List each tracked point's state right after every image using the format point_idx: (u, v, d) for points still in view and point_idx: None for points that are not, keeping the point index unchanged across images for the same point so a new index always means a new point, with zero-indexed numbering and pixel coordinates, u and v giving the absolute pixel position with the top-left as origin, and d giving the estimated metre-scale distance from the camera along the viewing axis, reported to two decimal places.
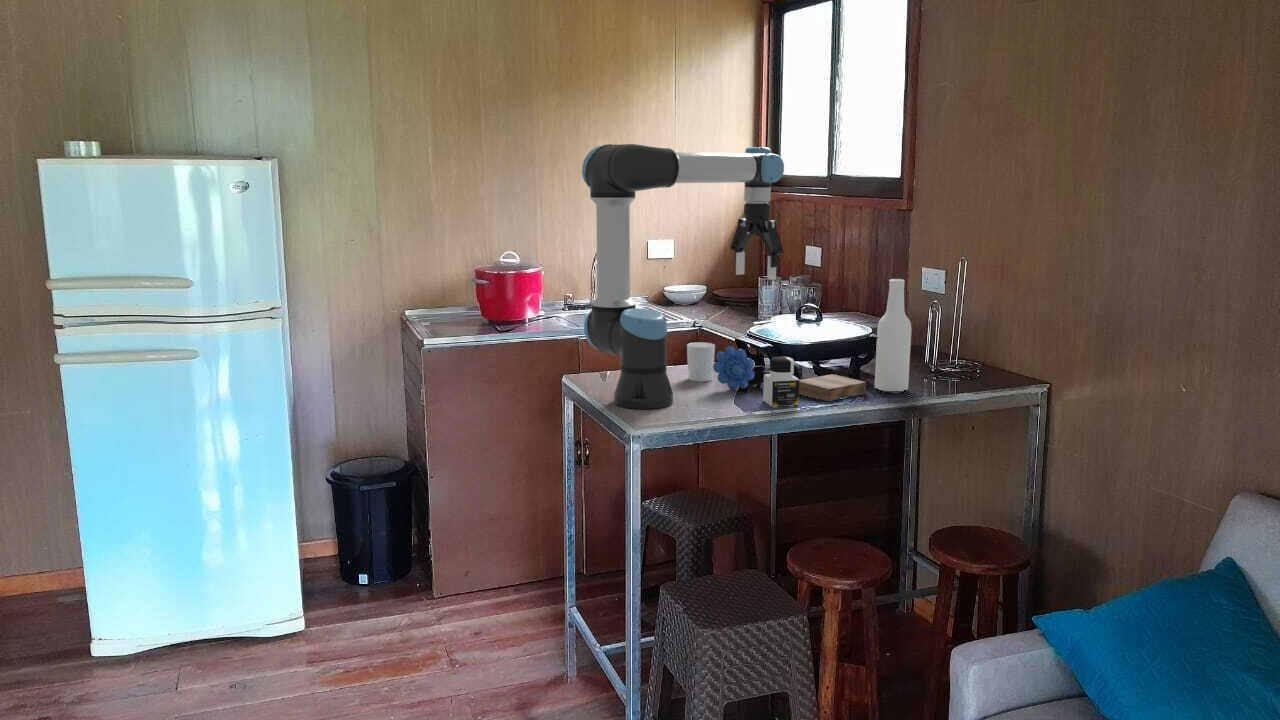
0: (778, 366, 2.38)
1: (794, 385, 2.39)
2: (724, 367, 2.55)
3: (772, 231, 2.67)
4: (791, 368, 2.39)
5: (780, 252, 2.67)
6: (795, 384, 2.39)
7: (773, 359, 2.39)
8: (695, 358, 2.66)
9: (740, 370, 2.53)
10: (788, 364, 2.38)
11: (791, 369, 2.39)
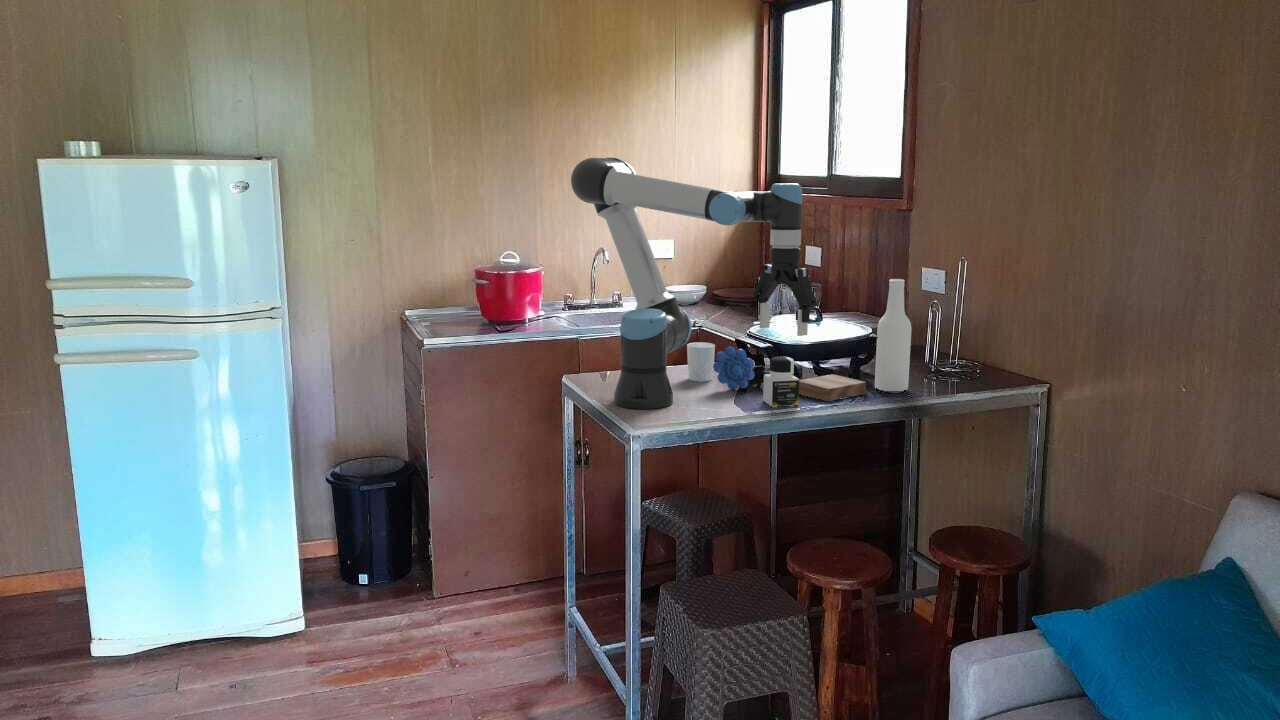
0: (778, 366, 2.38)
1: (794, 385, 2.39)
2: (724, 367, 2.55)
3: (803, 281, 2.30)
4: (791, 368, 2.39)
5: (813, 306, 2.30)
6: (795, 384, 2.39)
7: (773, 359, 2.39)
8: (695, 358, 2.66)
9: (740, 370, 2.53)
10: (788, 364, 2.38)
11: (791, 369, 2.39)
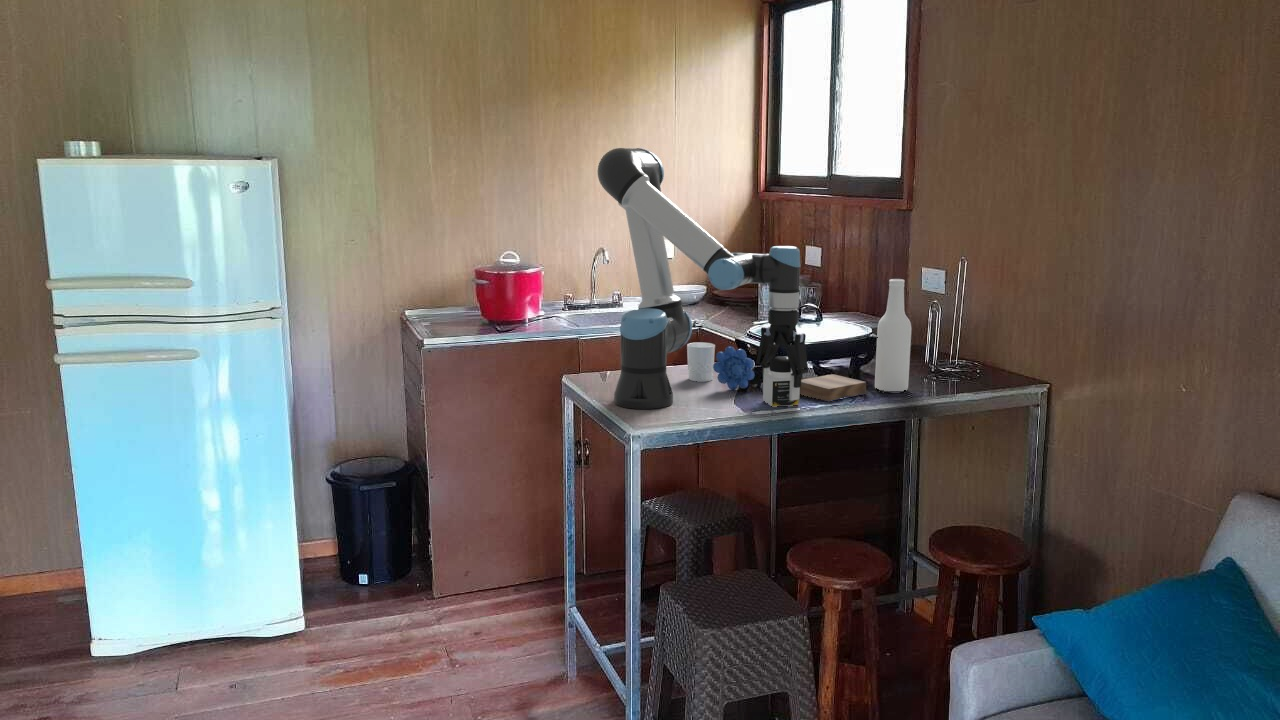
0: (778, 366, 2.38)
1: None
2: (724, 367, 2.55)
3: (799, 347, 2.34)
4: None
5: (805, 372, 2.34)
6: None
7: (773, 359, 2.39)
8: (695, 358, 2.66)
9: (740, 370, 2.53)
10: (788, 364, 2.38)
11: (791, 369, 2.39)
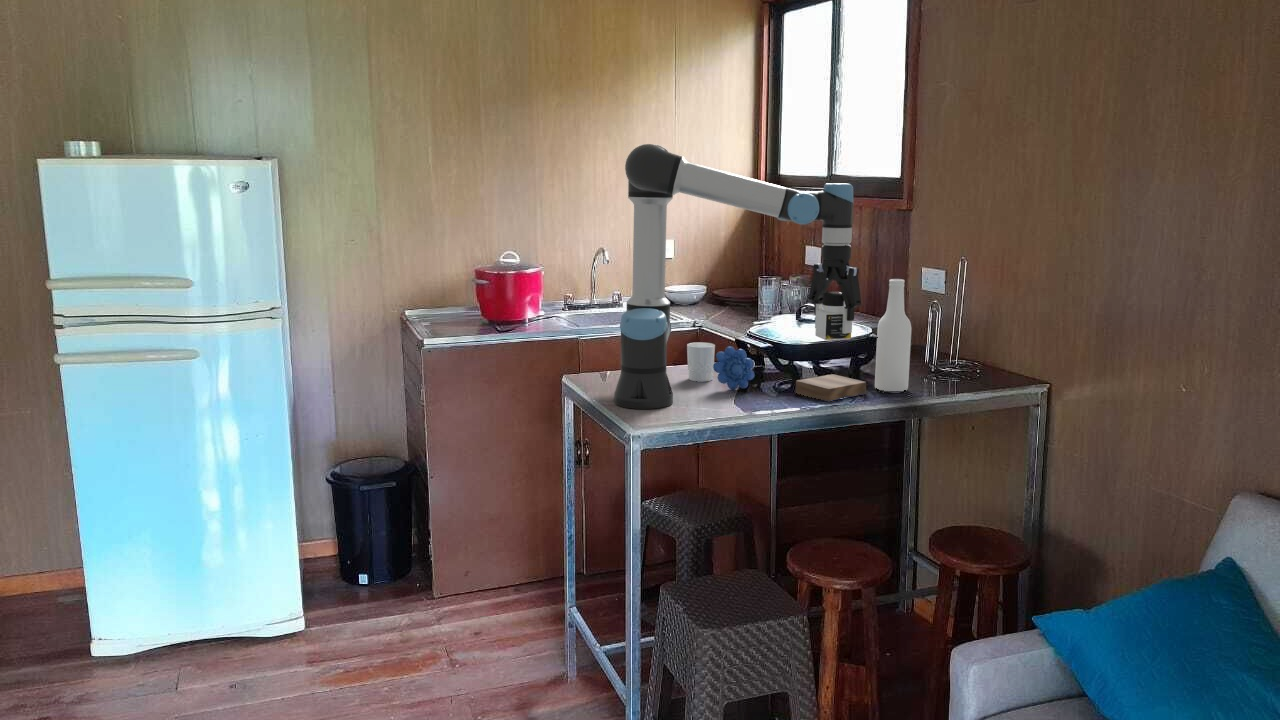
0: (832, 300, 2.45)
1: None
2: (724, 367, 2.55)
3: (853, 280, 2.41)
4: (844, 302, 2.46)
5: (858, 305, 2.42)
6: None
7: (826, 294, 2.46)
8: (695, 358, 2.66)
9: (740, 370, 2.53)
10: (841, 298, 2.45)
11: (844, 303, 2.46)
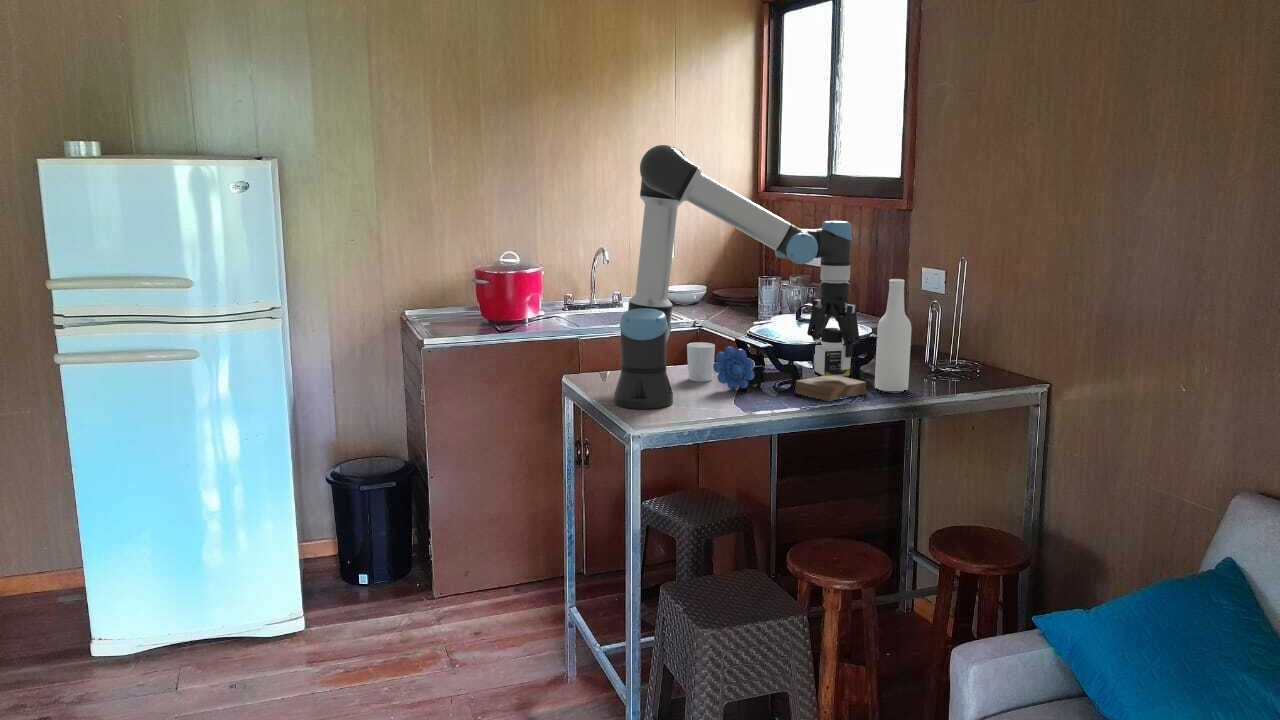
0: (830, 337, 2.47)
1: None
2: (724, 367, 2.55)
3: (851, 318, 2.43)
4: (842, 338, 2.48)
5: (856, 342, 2.43)
6: None
7: (825, 330, 2.48)
8: (695, 358, 2.66)
9: (740, 370, 2.53)
10: (839, 335, 2.47)
11: (842, 339, 2.48)
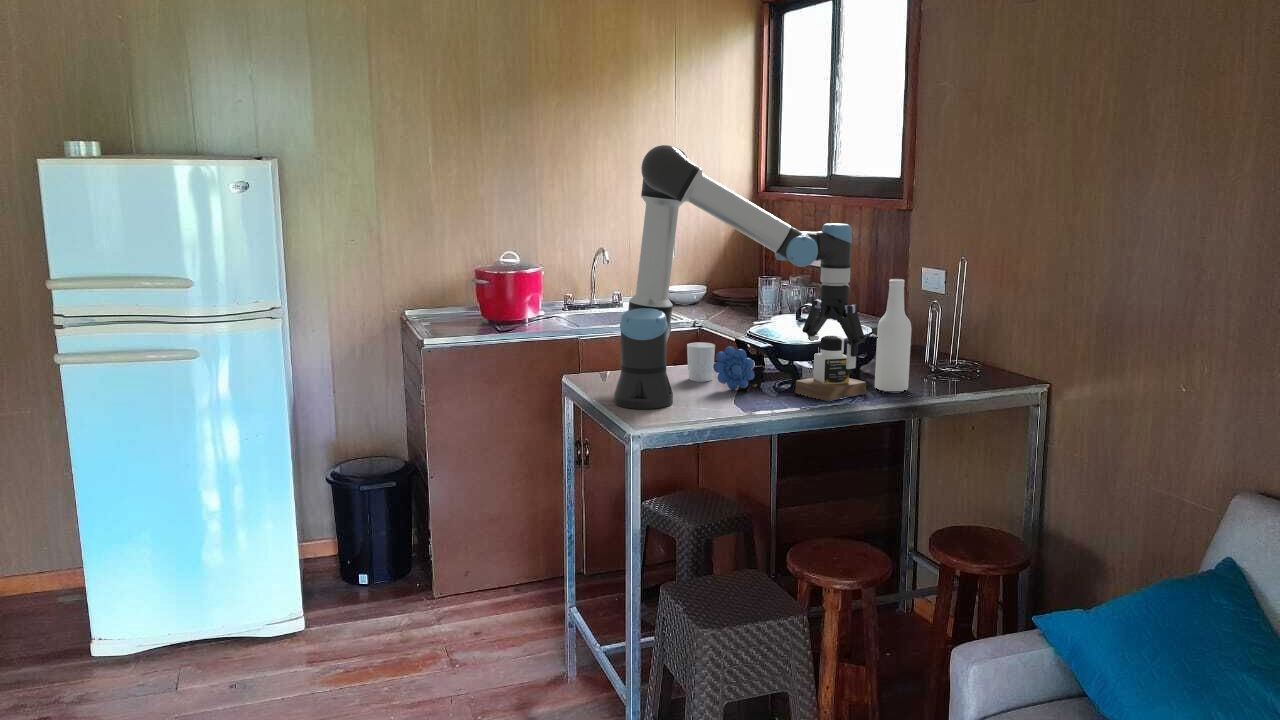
0: (830, 345, 2.47)
1: (844, 363, 2.48)
2: (724, 367, 2.55)
3: (853, 317, 2.42)
4: (842, 346, 2.48)
5: (862, 341, 2.42)
6: None
7: (824, 338, 2.49)
8: (695, 358, 2.66)
9: (740, 370, 2.53)
10: (839, 343, 2.47)
11: (842, 347, 2.48)
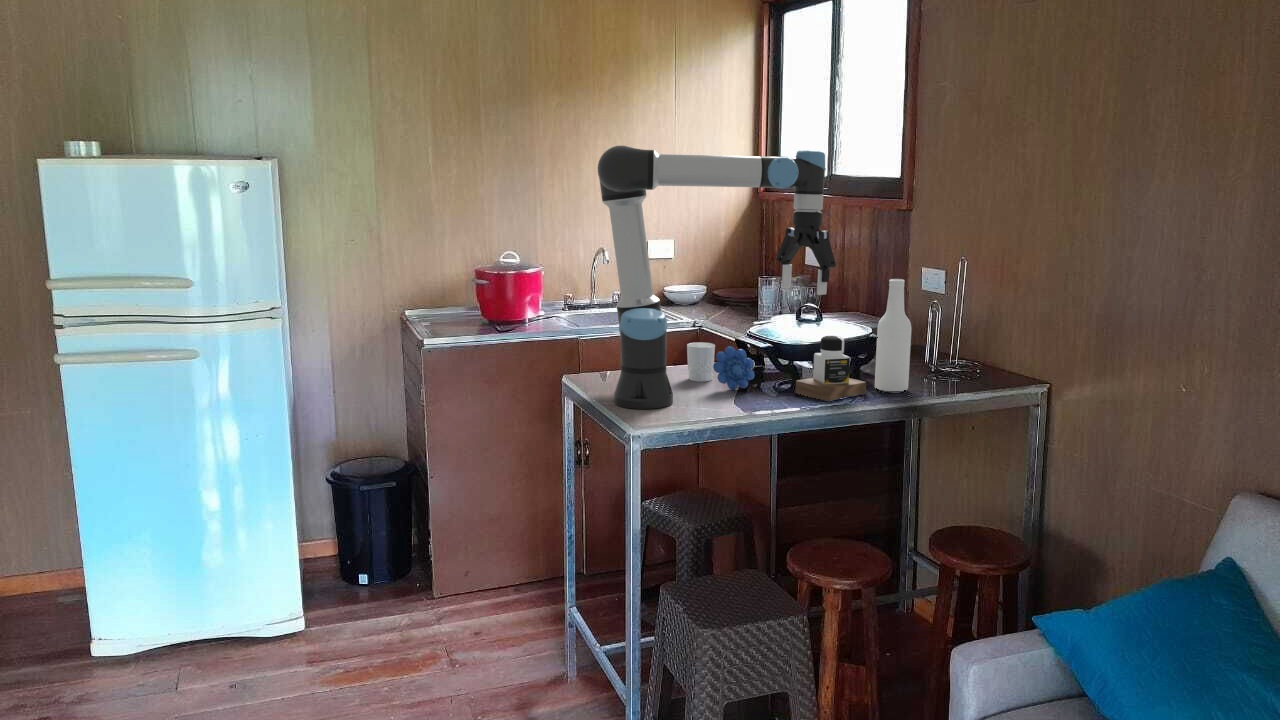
0: (830, 345, 2.47)
1: (845, 363, 2.48)
2: (724, 367, 2.55)
3: (824, 242, 2.44)
4: (842, 347, 2.48)
5: (833, 266, 2.43)
6: (846, 362, 2.48)
7: (824, 338, 2.49)
8: (695, 358, 2.66)
9: (740, 370, 2.53)
10: (839, 343, 2.47)
11: (842, 347, 2.48)
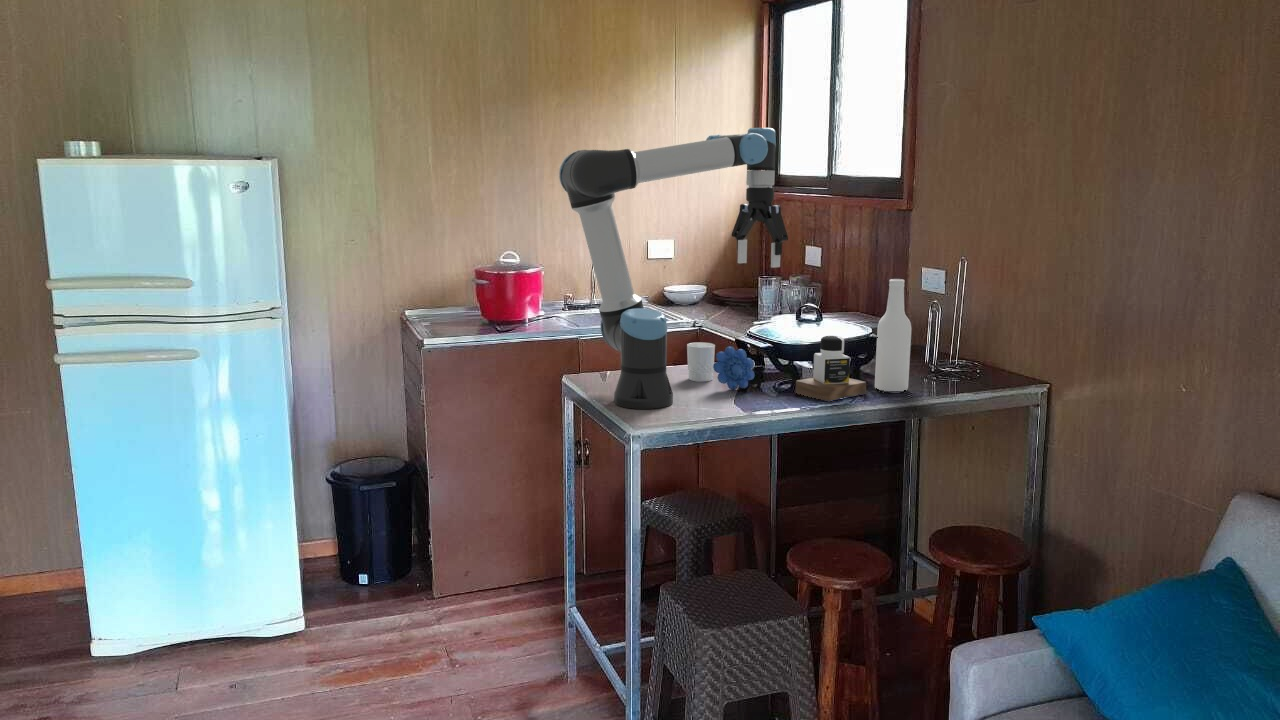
0: (830, 345, 2.47)
1: (844, 363, 2.48)
2: (724, 367, 2.55)
3: (776, 217, 2.52)
4: (842, 347, 2.48)
5: (785, 239, 2.52)
6: (846, 362, 2.48)
7: (824, 338, 2.49)
8: (695, 358, 2.66)
9: (740, 370, 2.53)
10: (839, 343, 2.47)
11: (842, 347, 2.48)
